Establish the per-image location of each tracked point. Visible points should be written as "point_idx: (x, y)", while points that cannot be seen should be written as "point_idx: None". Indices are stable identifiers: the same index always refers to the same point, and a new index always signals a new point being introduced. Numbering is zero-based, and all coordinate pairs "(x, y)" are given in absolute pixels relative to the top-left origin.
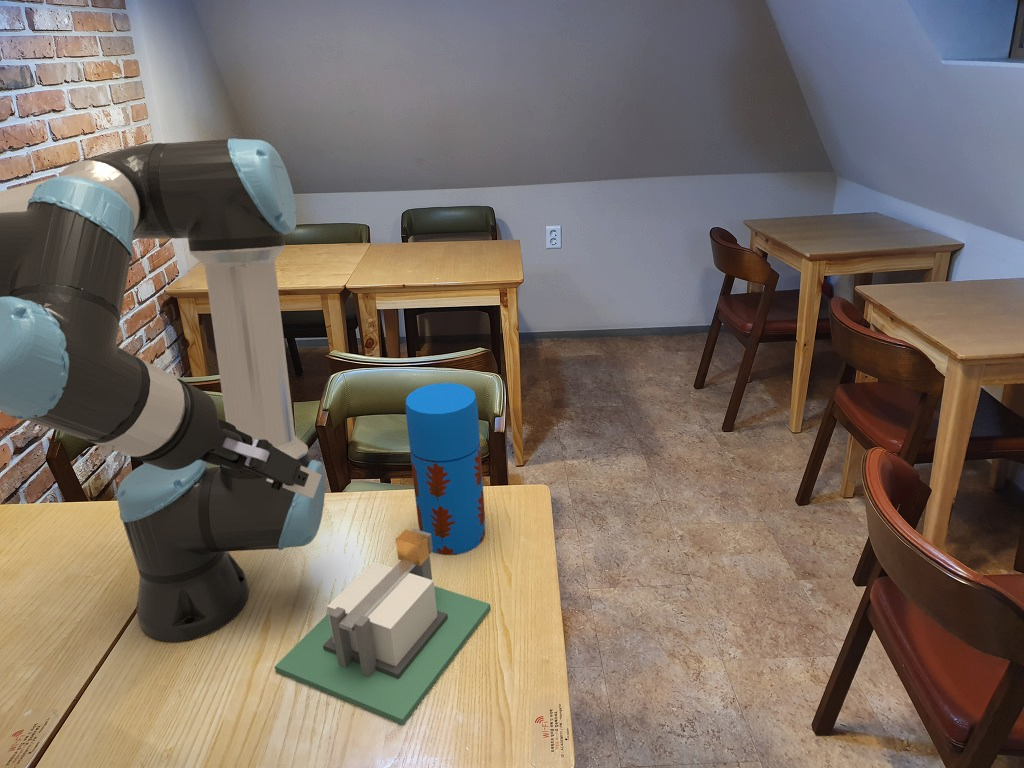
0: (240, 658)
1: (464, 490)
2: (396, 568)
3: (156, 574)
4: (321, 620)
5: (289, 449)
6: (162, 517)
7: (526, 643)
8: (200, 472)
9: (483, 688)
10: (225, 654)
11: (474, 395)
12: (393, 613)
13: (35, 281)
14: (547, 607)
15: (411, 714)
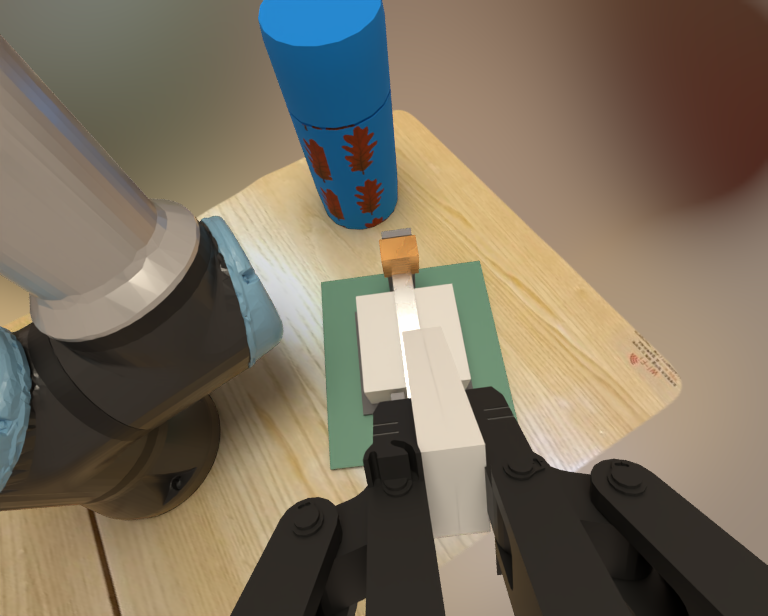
0: (276, 477)
1: (389, 145)
2: (398, 293)
3: (92, 499)
4: (326, 381)
5: (170, 236)
6: (28, 476)
7: (546, 283)
8: (20, 366)
9: (554, 357)
10: (253, 483)
11: None
12: (452, 355)
13: None
14: (527, 232)
15: None
